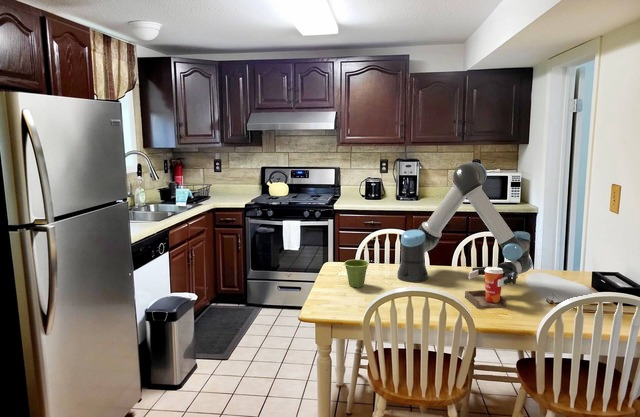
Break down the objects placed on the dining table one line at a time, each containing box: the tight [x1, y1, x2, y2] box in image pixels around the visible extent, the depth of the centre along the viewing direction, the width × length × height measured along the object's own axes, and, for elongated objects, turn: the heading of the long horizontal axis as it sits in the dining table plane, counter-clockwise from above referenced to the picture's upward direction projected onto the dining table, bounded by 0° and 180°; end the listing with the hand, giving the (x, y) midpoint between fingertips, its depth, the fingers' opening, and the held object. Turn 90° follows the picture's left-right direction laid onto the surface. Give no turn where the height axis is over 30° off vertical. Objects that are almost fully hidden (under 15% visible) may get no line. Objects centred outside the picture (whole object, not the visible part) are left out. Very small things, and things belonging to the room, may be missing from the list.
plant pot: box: [343, 259, 370, 288], centre depth 221 cm, size 12×12×11 cm
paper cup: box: [484, 266, 504, 303], centre depth 195 cm, size 8×8×14 cm
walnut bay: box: [464, 289, 507, 309], centre depth 197 cm, size 13×13×3 cm
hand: (483, 279), depth 194 cm, fingers open, 13 cm apart
